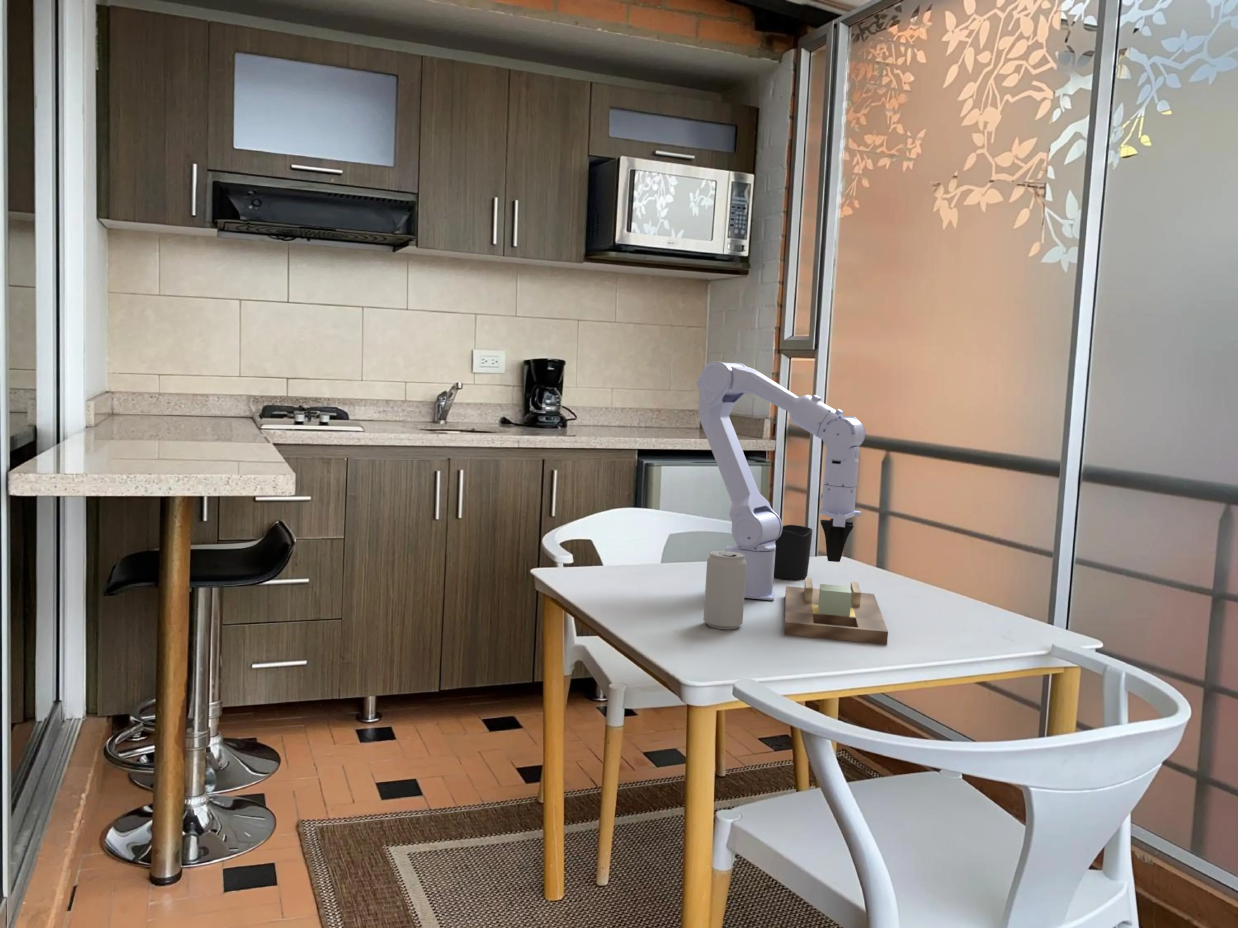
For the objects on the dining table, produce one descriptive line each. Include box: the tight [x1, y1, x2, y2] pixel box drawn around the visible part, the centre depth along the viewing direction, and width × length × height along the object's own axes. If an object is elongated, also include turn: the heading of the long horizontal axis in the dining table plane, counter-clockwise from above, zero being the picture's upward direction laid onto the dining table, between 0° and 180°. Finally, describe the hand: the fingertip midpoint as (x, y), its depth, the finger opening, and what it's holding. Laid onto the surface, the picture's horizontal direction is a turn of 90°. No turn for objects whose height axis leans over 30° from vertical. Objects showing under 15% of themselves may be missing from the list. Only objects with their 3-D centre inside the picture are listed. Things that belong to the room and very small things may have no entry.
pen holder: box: [773, 524, 813, 581], centre depth 212 cm, size 9×9×10 cm
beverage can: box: [703, 550, 747, 630], centre depth 169 cm, size 6×6×12 cm
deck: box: [783, 577, 889, 645], centre depth 178 cm, size 16×28×4 cm, turn 171°
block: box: [818, 583, 852, 617], centre depth 174 cm, size 5×5×4 cm
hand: (833, 560), depth 184 cm, fingers closed
